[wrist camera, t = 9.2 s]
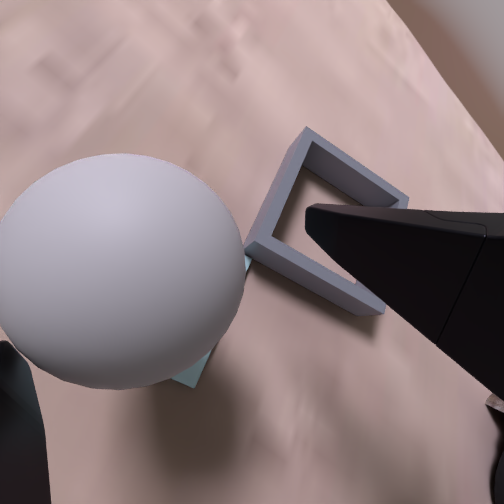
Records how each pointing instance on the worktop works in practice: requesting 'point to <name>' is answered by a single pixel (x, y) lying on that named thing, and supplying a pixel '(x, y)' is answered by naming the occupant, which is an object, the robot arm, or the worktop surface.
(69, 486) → the worktop surface
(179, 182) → the lightbulb
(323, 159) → the grey square frame
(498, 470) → the caster wheel
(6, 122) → the worktop surface
